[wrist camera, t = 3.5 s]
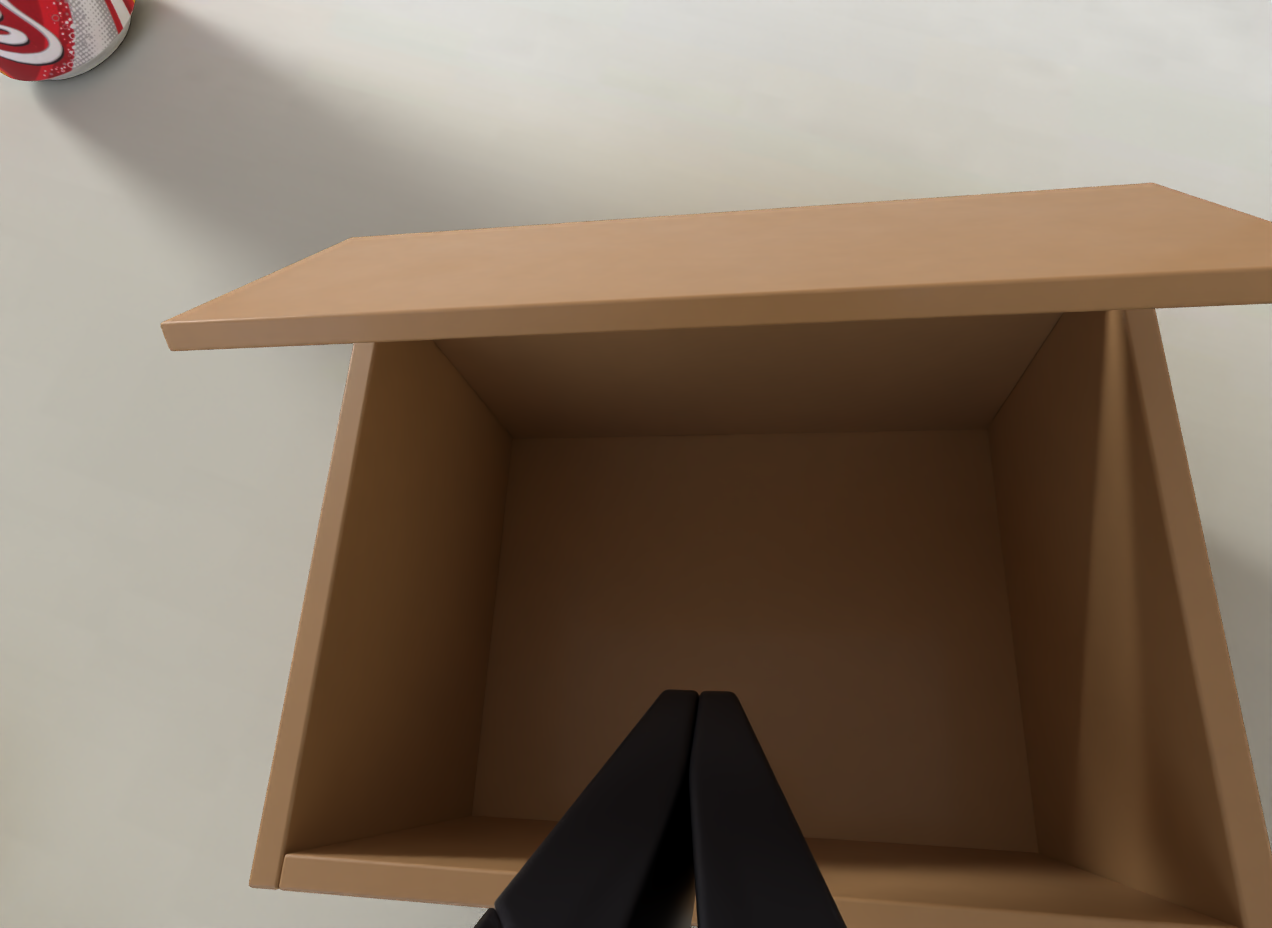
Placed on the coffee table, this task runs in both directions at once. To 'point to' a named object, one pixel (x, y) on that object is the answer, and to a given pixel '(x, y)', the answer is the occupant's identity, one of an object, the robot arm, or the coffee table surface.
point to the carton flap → (757, 270)
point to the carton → (779, 615)
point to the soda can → (59, 36)
